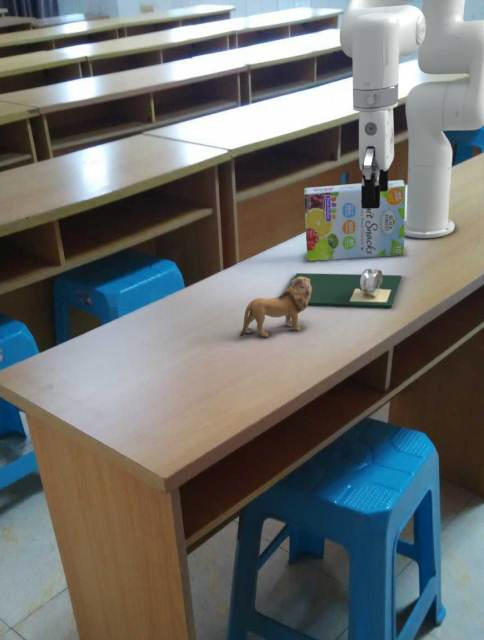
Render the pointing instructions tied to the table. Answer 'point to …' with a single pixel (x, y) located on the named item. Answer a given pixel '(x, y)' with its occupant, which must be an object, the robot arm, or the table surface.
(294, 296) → the lion figurine
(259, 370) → the table surface
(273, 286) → the table surface
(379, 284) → the grooved metal pulley
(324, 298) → the desk mat
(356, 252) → the snack box
